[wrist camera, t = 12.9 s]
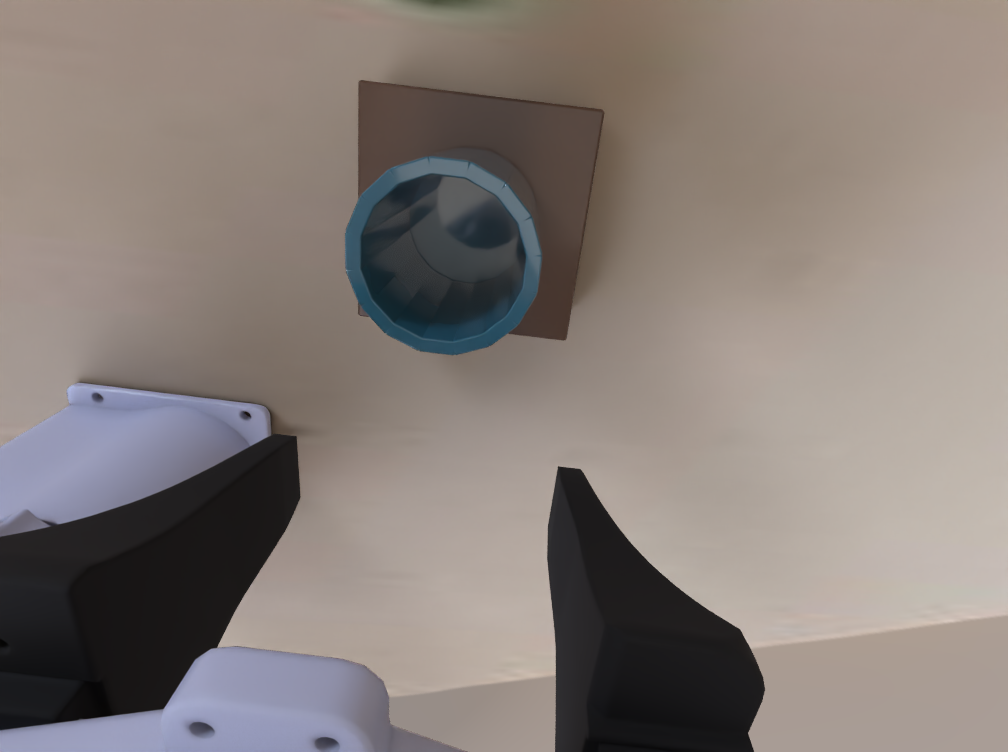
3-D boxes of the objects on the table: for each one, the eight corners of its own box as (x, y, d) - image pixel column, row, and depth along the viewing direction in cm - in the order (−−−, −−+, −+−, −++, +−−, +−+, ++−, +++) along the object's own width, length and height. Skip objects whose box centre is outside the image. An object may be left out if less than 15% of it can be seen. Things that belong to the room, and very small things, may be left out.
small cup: (400, 280, 20) (345, 342, 14) (405, 139, 18) (343, 145, 12) (529, 295, 20) (527, 364, 14) (548, 156, 18) (554, 171, 12)
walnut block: (378, 294, 24) (357, 316, 21) (381, 86, 20) (357, 79, 18) (562, 316, 24) (566, 341, 21) (595, 112, 20) (605, 109, 18)
